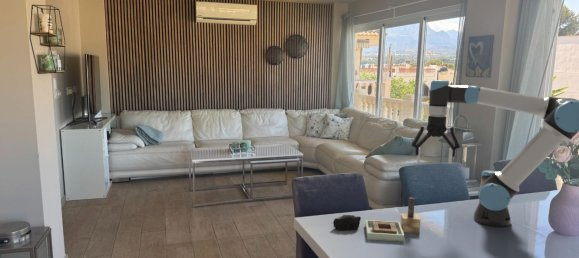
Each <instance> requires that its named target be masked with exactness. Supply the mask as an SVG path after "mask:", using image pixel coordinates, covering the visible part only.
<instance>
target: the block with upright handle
mask: <svg viewBox="0 0 579 258" xmlns="http://www.w3.org/2000/svg"><path fill="white" fill-rule="evenodd" d="M415 200H416V199H415V197H408V203H407V204H408V205H407V213H400V214H401V215H400V225H401V227H402V230H403V233H411V234H413V233H414V234H420V231H421V230H420V228H421V218H420V216H419V214H418V213H415V202H416V201H415Z"/></svg>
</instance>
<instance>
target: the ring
mask: <svg viewBox="0 0 579 258" xmlns="http://www.w3.org/2000/svg"><path fill="white" fill-rule="evenodd" d="M380 221H381V222H373V226H372V229H373V233H386V234H397V230H396V226H395V223H387V222H386V221H387V220H381V219H380Z"/></svg>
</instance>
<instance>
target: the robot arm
mask: <svg viewBox="0 0 579 258" xmlns="http://www.w3.org/2000/svg"><path fill="white" fill-rule="evenodd" d="M428 98H429V99H428V100H429V102H428V117H427V126H424V125H420V126H419V131H418V133H417V134H416V136H415V137H414V139H413V140H412V142H411V145H410V146H411V147H413V148H414V149H415V150H414V151H415V152H414V154H415V156H416V162H417V163H418V164H421V150H422V149H421V147H422V145H423V144H424V143H425V142H426V141H427V140H428V139H429V138H431V137H432V138H435V137H436V138H441V137H442V138H443V139H444V140H445V142H446V143H447V145H448V146H449V147H450V148H449V149H448V150H449V151H448V160H447V161H448V164H449V165H452V163H453V157H455V156H456V150H457V149H460V147H461V146H460V144H459V141H458V139H457V137H456V135H455V133H454V127H453V126H448V127H447V114H448V113H447V112H448V104H449V103H450V104H451V103H452V104H466V105H471V104H472V105H473V104H474V105H475V104H478V105H483V106H488V107H493V108H498V109H503V110H508V111H513V112H518V113H522V114H527V115H528V114H529V115H533V116H539V117H540V119H542V124H543V127H541V129H540V130H539V131H538V132H537V133H535V135H533V137H532V138H531V139H530V140H529V141H528V142H527V143H526V144H525V145H524V147H522V148H521V149H520V150H519V151H518V152H517V154H515V156H514V157H513V158H512V159H511V160H510V161H509V162H508V163H507V164H506V165H505V166H504V167H503V168H502V169H501V170H499V171H498V170H486V169H485V170H483V171H482V172H481V175H480V186H479V190H478V193H477V195H478V200H479V201H478V204H477V206H476V209H475V210H474V213H473V220H474V221H475V222H477V223H479V224H482V225H486V226H489V227H497V228H500V227H501V228H502V227H509V226H510V225H511V221H512V220H511V214H510V210H509V207H508V206H509V205H510V202H511V200H512V199H513V198H514V197H515V196H516V195H517V193H519V192H520V185H522V183H523V182H524V181H525V180H526V179H527V178H528V177H529V176H530V175H531V174H532V173H533V172H534V171H535V170H536V169H537V168H538V167H539V166H540V165H541V164H542V163H543V162H544V161H545V160H546V158H548V157H549V156H550V155H551V154H552V153H553V152H554V151H555V150H556V149H557V148H558V147H559V146H560V145H561V143H563V142H564V141H571V140H572V139H573V138H574V137H576V135H577V134H578V133H579V99H576V98H572V97H571V98H570V97H554V96H547V97H542V96H541V97H540V96H536V95H535V96H534V95H527V94H523V93H517V92H510V91H508V90H507V91H506V90H501V89H493V88H489V87H483V86H478V85H473V84H468V83H465V84H462V85H457V84H455V85H453V84H452V85H451V84H450V81H449V80H445V79H444V80H442V79H441V80H440V79H434V80H432V81H431V82H430V88H429V97H428ZM425 131H427V133H426V134H425V135H424V136H423V137H422V138H421V136H422V135H423V133H424V132H425ZM446 132H448V133H449V135H450V138H451V140H452V141H450V139H449V138H448V137H447V134H446ZM420 138H421V139H420ZM419 139H420V140H419ZM452 142H453V143H452Z"/></svg>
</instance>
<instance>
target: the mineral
mask: <svg viewBox="0 0 579 258" xmlns="http://www.w3.org/2000/svg"><path fill="white" fill-rule="evenodd" d="M361 220H362V218H361V216H359V215H358V216H356V215H354V214H353V215H351V214H343V215H341V216H338V217H335V218H334V220H333V221H332V222H333V223H332V224H333V228H335V229H337V230H339V231H348V232H349V231H353V230H354V231H355V230H358V229H359V228H360V223H361Z"/></svg>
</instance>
